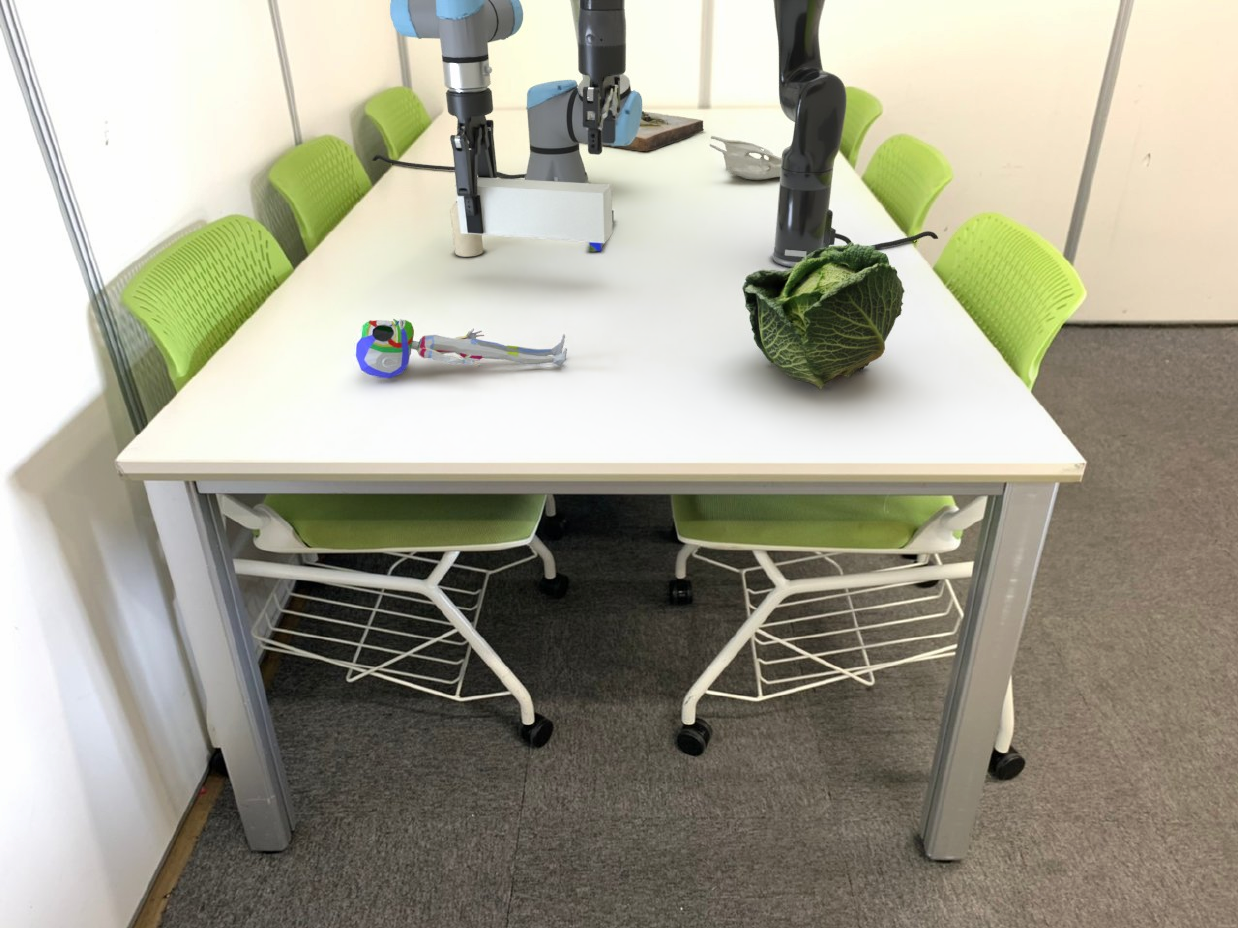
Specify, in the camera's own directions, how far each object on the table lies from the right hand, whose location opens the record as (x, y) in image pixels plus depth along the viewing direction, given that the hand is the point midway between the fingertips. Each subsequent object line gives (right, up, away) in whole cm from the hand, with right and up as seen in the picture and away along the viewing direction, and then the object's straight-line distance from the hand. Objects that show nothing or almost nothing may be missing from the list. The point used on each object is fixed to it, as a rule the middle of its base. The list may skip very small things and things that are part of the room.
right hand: (602, 148), depth 148 cm
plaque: (+7, +43, +111) cm, 119 cm away
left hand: (-22, -10, +11) cm, 26 cm away
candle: (-26, -11, +27) cm, 39 cm away
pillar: (-1, -6, +34) cm, 35 cm away
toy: (-20, -38, -16) cm, 46 cm away
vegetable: (+31, -39, -19) cm, 54 cm away
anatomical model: (+37, +18, +71) cm, 82 cm away
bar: (-12, -12, +9) cm, 19 cm away
